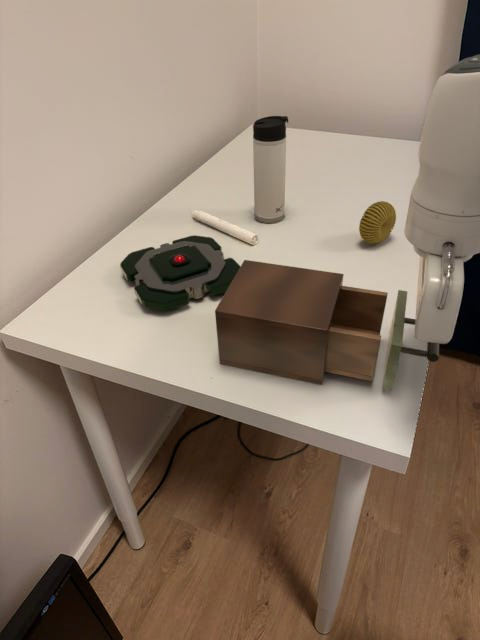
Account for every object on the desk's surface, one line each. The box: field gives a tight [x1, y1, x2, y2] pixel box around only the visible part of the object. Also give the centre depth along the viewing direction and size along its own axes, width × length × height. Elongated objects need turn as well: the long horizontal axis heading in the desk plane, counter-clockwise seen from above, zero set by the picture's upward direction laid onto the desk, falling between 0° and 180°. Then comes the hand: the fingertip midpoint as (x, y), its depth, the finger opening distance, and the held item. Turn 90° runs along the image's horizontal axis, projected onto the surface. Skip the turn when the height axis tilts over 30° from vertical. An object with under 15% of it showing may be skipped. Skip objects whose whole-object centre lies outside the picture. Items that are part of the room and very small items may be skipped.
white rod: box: [191, 209, 259, 246], centre depth 97 cm, size 18×2×2 cm, turn 46°
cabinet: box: [214, 259, 345, 385], centre depth 68 cm, size 15×13×10 cm
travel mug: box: [252, 115, 289, 224], centre depth 95 cm, size 6×7×20 cm
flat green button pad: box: [119, 234, 241, 311], centre depth 84 cm, size 18×18×5 cm
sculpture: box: [358, 200, 397, 245], centre depth 90 cm, size 8×4×8 cm, turn 128°
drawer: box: [324, 285, 440, 391], centre depth 65 cm, size 18×11×8 cm, turn 72°
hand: (425, 322), depth 61 cm, fingers closed
